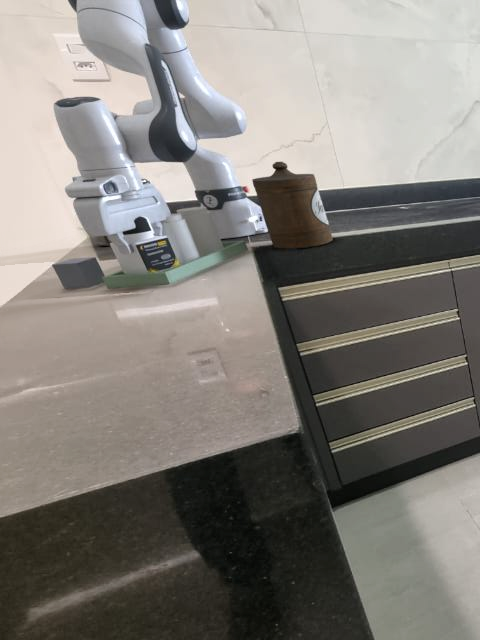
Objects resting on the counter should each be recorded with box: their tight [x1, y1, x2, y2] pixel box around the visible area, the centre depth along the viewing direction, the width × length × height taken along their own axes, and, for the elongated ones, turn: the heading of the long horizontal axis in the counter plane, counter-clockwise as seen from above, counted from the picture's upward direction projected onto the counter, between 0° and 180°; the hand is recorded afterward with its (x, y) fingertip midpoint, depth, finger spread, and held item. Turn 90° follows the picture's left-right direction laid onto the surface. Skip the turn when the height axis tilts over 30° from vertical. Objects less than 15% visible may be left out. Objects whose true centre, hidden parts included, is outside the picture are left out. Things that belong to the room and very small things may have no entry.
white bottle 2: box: [176, 206, 224, 257], centre depth 135 cm, size 7×7×12 cm
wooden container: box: [251, 161, 334, 250], centre depth 145 cm, size 15×15×22 cm
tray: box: [102, 240, 249, 289], centre depth 128 cm, size 32×13×3 cm, turn 7°
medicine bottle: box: [109, 216, 180, 275], centre depth 116 cm, size 7×7×12 cm
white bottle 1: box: [161, 213, 200, 265], centre depth 126 cm, size 7×7×12 cm
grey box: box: [51, 256, 106, 290], centre depth 116 cm, size 5×5×6 cm
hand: (144, 248), depth 116 cm, fingers closed on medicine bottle, 8 cm apart
